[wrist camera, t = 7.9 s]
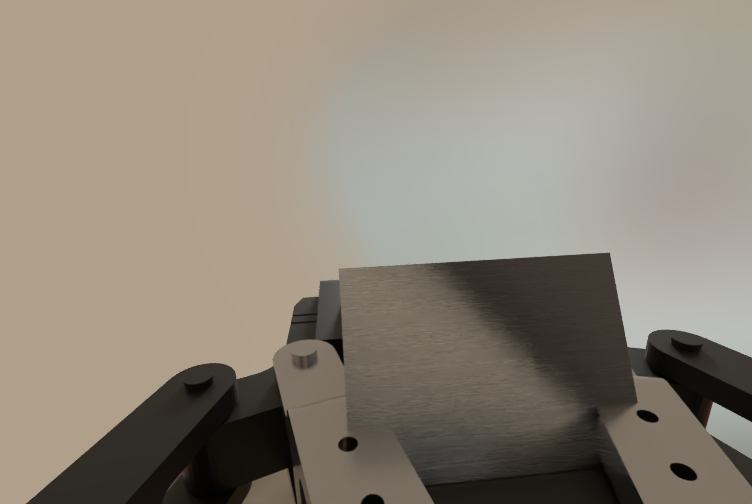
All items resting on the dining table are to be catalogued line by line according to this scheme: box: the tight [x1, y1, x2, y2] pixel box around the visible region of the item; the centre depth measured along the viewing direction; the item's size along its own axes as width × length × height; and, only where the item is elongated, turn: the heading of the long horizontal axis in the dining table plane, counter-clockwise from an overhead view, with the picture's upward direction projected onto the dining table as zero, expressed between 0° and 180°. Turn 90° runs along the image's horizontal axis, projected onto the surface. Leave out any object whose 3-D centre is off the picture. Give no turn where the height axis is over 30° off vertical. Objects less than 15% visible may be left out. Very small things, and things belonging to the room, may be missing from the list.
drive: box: [339, 253, 638, 487], centre depth 18 cm, size 4×26×3 cm, turn 4°
